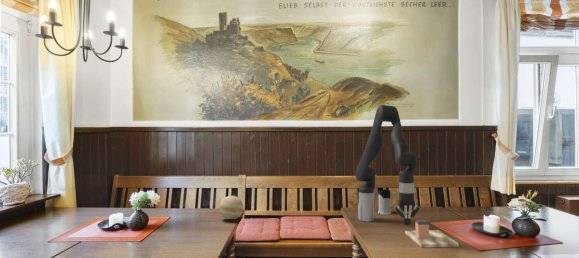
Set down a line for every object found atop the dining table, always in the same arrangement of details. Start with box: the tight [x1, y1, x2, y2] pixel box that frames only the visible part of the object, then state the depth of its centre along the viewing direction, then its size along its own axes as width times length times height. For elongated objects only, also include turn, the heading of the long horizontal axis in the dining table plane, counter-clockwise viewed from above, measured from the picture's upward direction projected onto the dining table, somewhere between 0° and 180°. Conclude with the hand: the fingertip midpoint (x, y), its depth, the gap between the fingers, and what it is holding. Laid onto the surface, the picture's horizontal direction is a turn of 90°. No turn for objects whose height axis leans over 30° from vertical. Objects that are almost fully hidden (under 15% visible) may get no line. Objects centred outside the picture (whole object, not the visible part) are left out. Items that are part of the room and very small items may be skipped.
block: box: [414, 219, 430, 239], centre depth 181 cm, size 5×5×8 cm
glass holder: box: [377, 189, 399, 215], centre depth 238 cm, size 9×14×15 cm, turn 96°
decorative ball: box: [219, 195, 244, 220], centre depth 225 cm, size 15×15×15 cm
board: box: [404, 229, 460, 249], centre depth 181 cm, size 18×22×2 cm
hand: (406, 225), depth 180 cm, fingers closed
